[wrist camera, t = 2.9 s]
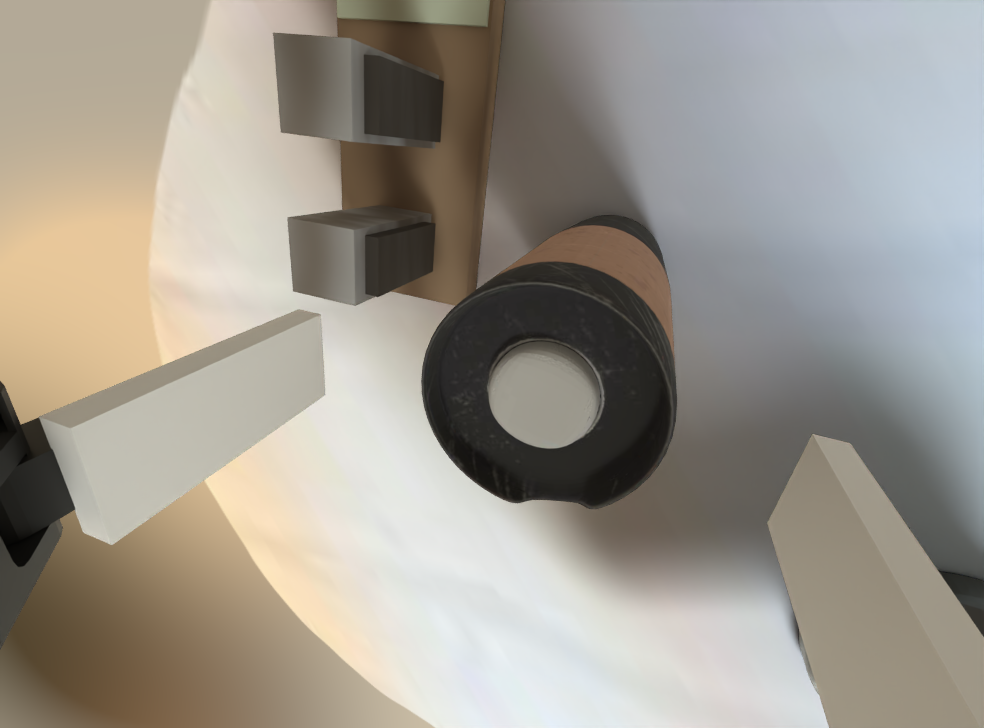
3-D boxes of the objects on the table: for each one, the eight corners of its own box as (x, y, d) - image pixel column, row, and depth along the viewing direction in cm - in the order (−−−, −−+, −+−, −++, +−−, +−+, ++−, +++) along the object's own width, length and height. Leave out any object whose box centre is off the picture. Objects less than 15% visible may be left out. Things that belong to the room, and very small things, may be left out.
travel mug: (599, 184, 29) (508, 211, 11) (694, 261, 28) (753, 408, 11) (528, 278, 32) (376, 407, 15) (612, 346, 32) (558, 556, 15)
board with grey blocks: (524, -190, 23) (429, -442, 14) (474, 300, 34) (403, 352, 25) (353, -179, 26) (170, -386, 16) (359, 275, 37) (253, 313, 27)
